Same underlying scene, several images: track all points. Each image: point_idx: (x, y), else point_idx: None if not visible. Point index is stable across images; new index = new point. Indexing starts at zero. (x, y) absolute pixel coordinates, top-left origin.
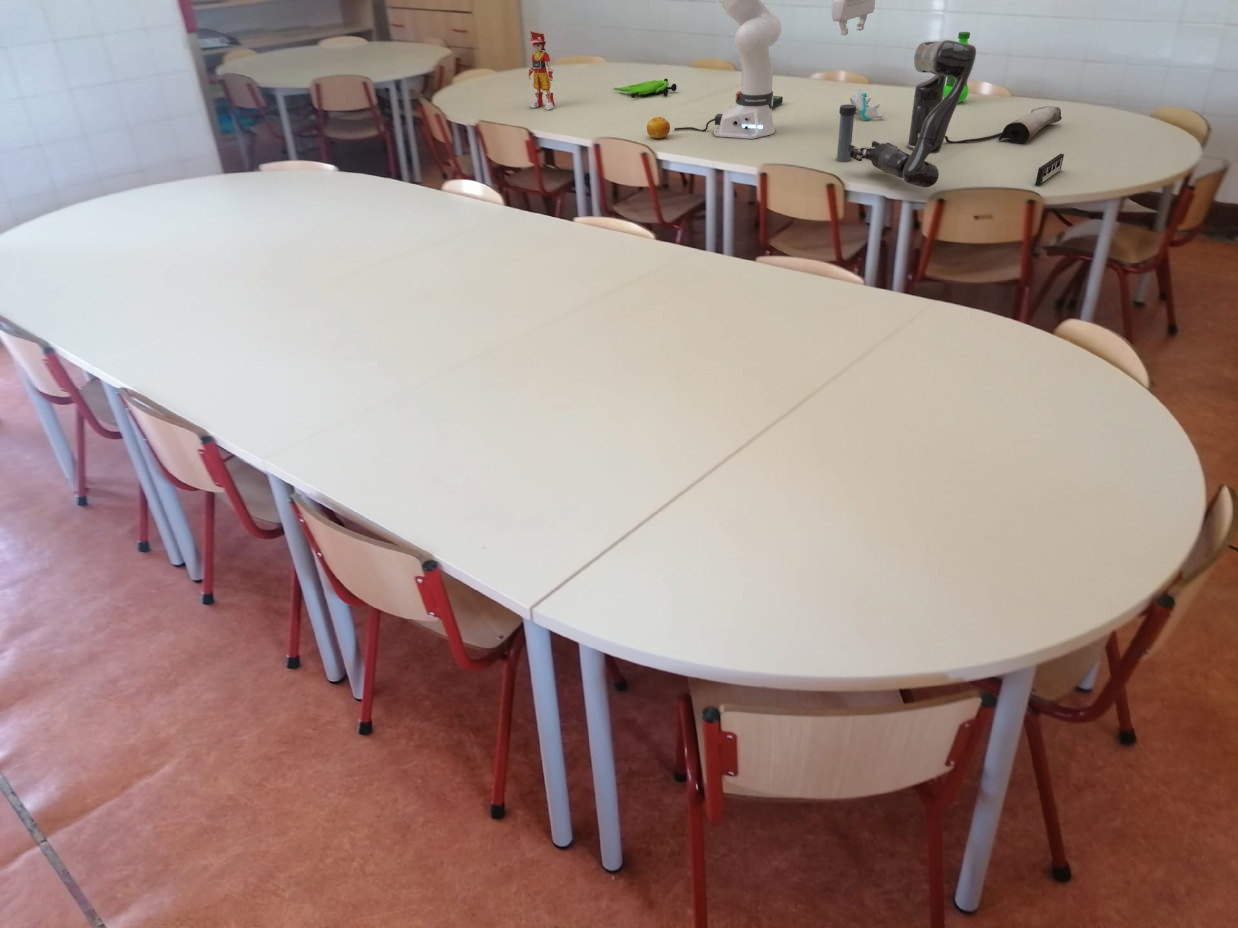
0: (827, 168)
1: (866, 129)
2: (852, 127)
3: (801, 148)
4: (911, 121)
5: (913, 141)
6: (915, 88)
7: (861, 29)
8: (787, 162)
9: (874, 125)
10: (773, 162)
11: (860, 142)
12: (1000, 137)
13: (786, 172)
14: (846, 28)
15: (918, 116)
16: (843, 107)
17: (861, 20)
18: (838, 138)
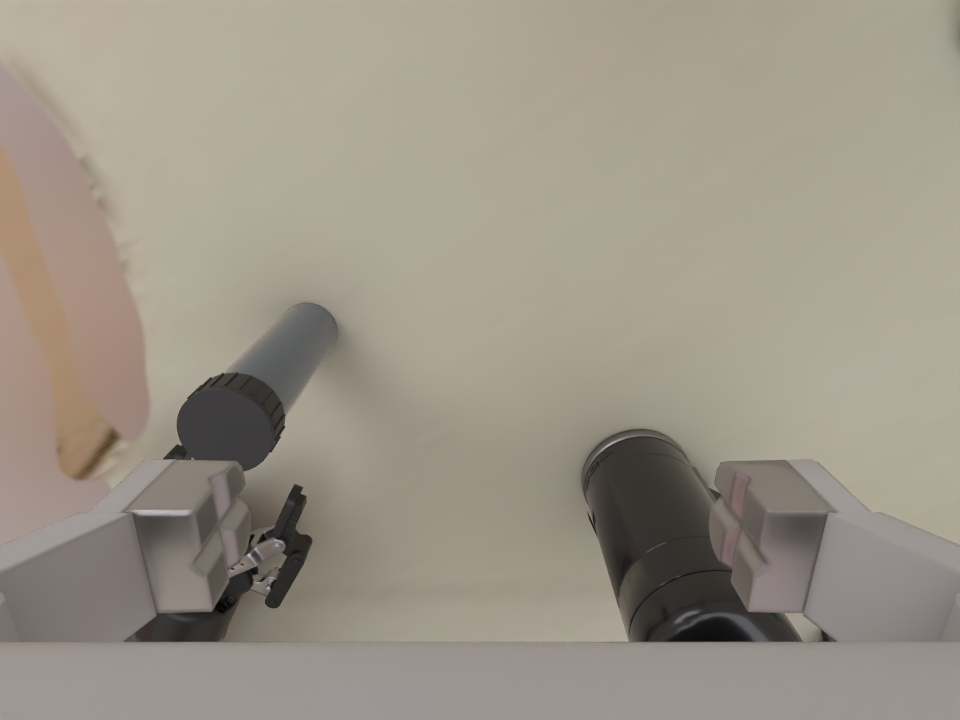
0: (177, 340)
1: (803, 143)
2: None
3: (331, 59)
4: (627, 499)
5: (589, 483)
6: (680, 603)
7: (721, 550)
8: (112, 147)
9: (892, 135)
10: (61, 88)
11: (577, 246)
12: (828, 641)
13: (9, 235)
14: (129, 629)
15: (609, 556)
16: (183, 426)
17: (912, 608)
18: (258, 339)
